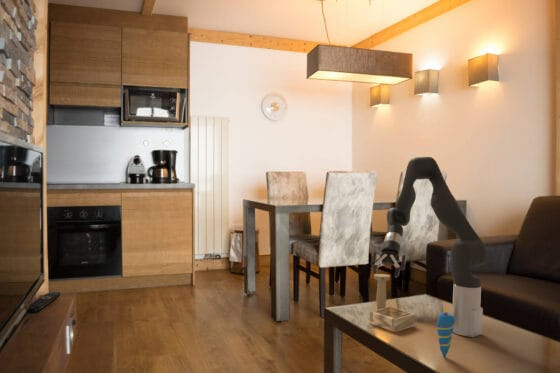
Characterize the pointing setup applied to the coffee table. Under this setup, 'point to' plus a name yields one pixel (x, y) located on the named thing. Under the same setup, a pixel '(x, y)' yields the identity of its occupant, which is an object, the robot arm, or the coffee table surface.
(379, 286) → the handle
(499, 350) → the coffee table surface
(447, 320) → the ornament
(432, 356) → the coffee table surface
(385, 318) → the socket block
